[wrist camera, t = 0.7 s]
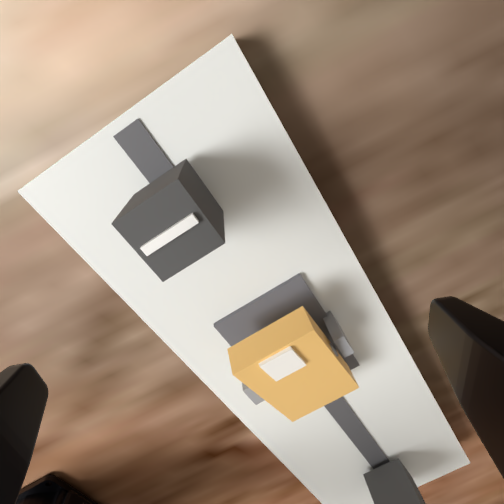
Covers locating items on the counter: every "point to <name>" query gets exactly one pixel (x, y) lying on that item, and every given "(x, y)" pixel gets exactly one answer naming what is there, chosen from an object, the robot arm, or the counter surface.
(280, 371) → the tan block
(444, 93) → the counter surface
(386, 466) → the slider
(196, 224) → the slider
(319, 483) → the panel
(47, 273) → the counter surface
